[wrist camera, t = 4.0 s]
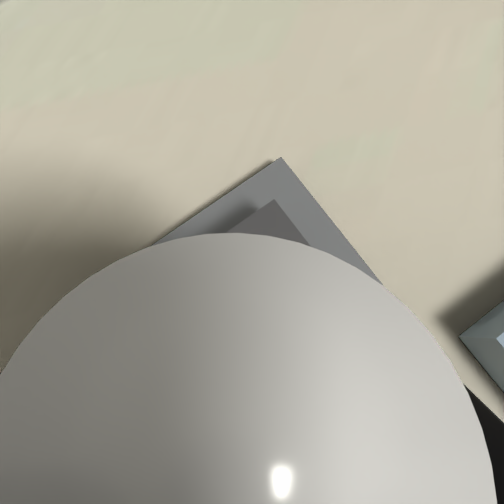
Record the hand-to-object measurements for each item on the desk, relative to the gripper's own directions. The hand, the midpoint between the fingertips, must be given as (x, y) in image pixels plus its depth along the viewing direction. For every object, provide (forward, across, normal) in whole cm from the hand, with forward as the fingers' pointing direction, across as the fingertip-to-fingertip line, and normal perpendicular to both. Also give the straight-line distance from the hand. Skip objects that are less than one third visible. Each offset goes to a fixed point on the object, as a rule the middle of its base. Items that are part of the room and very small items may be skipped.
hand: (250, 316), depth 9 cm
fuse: (+3, 0, +5) cm, 6 cm away
